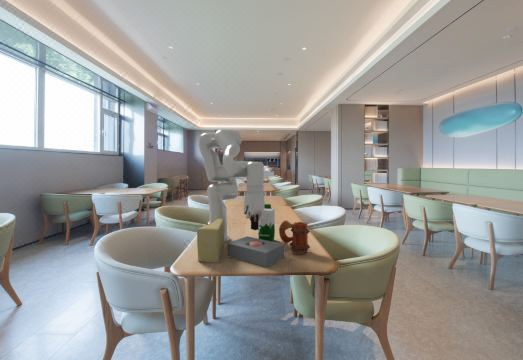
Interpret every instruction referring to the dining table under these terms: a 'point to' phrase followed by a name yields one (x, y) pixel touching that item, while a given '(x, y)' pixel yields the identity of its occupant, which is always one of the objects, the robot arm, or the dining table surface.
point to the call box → (256, 251)
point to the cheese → (210, 241)
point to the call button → (255, 243)
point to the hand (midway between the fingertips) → (254, 229)
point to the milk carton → (267, 224)
